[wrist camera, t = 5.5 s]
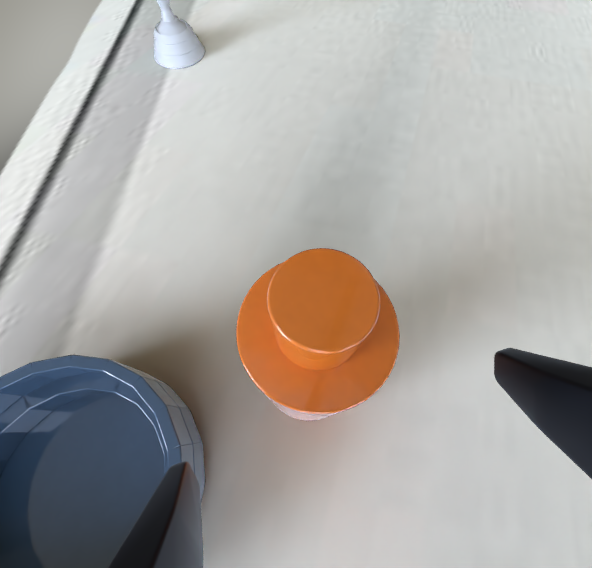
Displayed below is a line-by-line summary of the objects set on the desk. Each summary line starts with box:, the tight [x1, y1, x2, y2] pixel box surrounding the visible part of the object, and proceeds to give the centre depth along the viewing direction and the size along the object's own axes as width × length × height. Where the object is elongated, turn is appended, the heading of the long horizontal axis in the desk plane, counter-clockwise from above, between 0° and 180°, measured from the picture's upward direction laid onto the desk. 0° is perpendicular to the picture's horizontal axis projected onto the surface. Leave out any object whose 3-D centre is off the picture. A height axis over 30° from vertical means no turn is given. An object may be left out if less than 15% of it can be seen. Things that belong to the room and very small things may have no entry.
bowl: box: [0, 355, 205, 568], centre depth 15 cm, size 12×12×4 cm
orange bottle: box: [236, 248, 400, 421], centre depth 13 cm, size 5×5×12 cm
